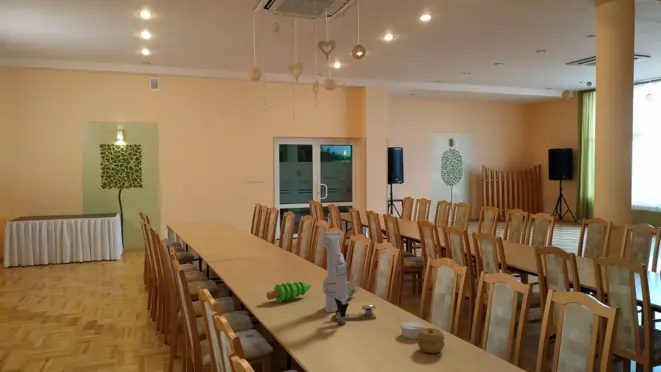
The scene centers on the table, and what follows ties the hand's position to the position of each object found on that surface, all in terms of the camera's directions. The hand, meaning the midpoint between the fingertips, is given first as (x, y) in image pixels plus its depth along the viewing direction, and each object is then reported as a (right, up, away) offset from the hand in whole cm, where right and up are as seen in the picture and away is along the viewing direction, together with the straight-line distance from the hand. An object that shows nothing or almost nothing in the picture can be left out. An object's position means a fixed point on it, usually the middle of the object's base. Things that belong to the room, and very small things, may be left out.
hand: (341, 314), depth 246 cm
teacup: (+5, -3, +47) cm, 47 cm away
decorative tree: (-29, -3, +43) cm, 52 cm away
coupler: (0, -5, 0) cm, 5 cm away
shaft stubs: (+7, -3, +9) cm, 12 cm away
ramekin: (+33, -6, -17) cm, 38 cm away
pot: (+38, -7, -35) cm, 52 cm away
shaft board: (+7, -4, +10) cm, 12 cm away
